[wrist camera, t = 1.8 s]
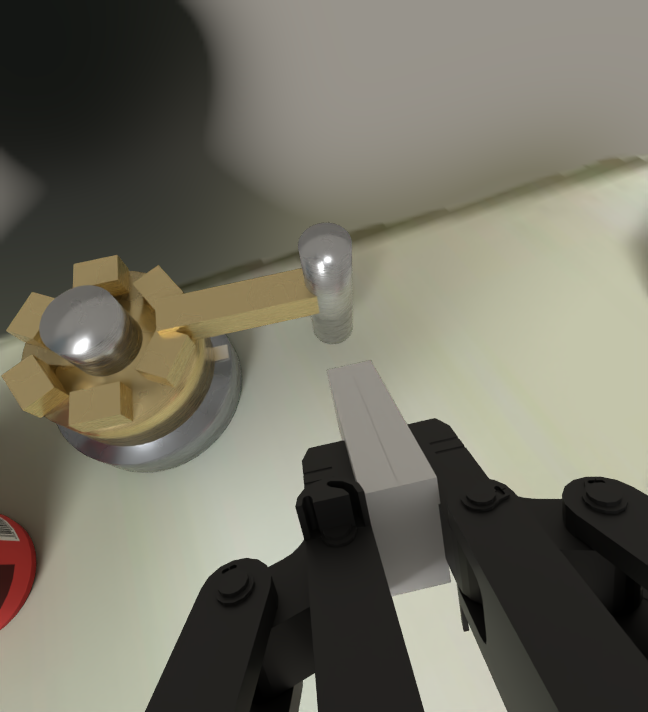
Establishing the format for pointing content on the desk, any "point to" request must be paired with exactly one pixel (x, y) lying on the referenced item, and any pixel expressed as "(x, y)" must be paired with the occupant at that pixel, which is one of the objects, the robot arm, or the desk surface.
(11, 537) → the canned food
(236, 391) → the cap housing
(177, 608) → the desk surface
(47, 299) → the geared crank handle
